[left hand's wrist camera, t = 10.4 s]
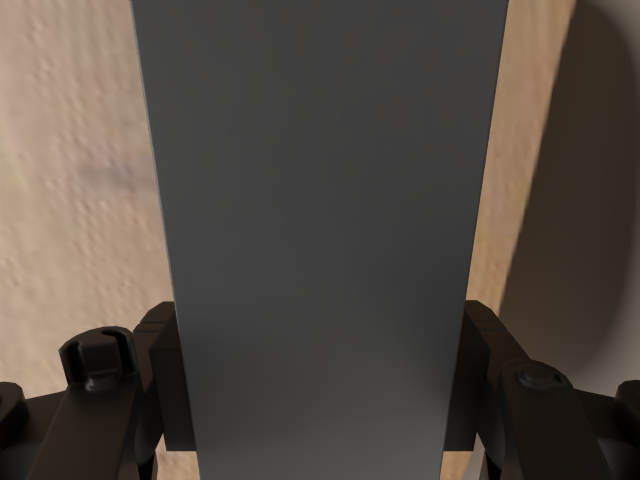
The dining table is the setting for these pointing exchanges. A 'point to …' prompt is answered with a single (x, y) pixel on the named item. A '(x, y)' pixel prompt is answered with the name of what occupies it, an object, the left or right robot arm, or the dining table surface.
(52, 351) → the dining table surface
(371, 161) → the post
